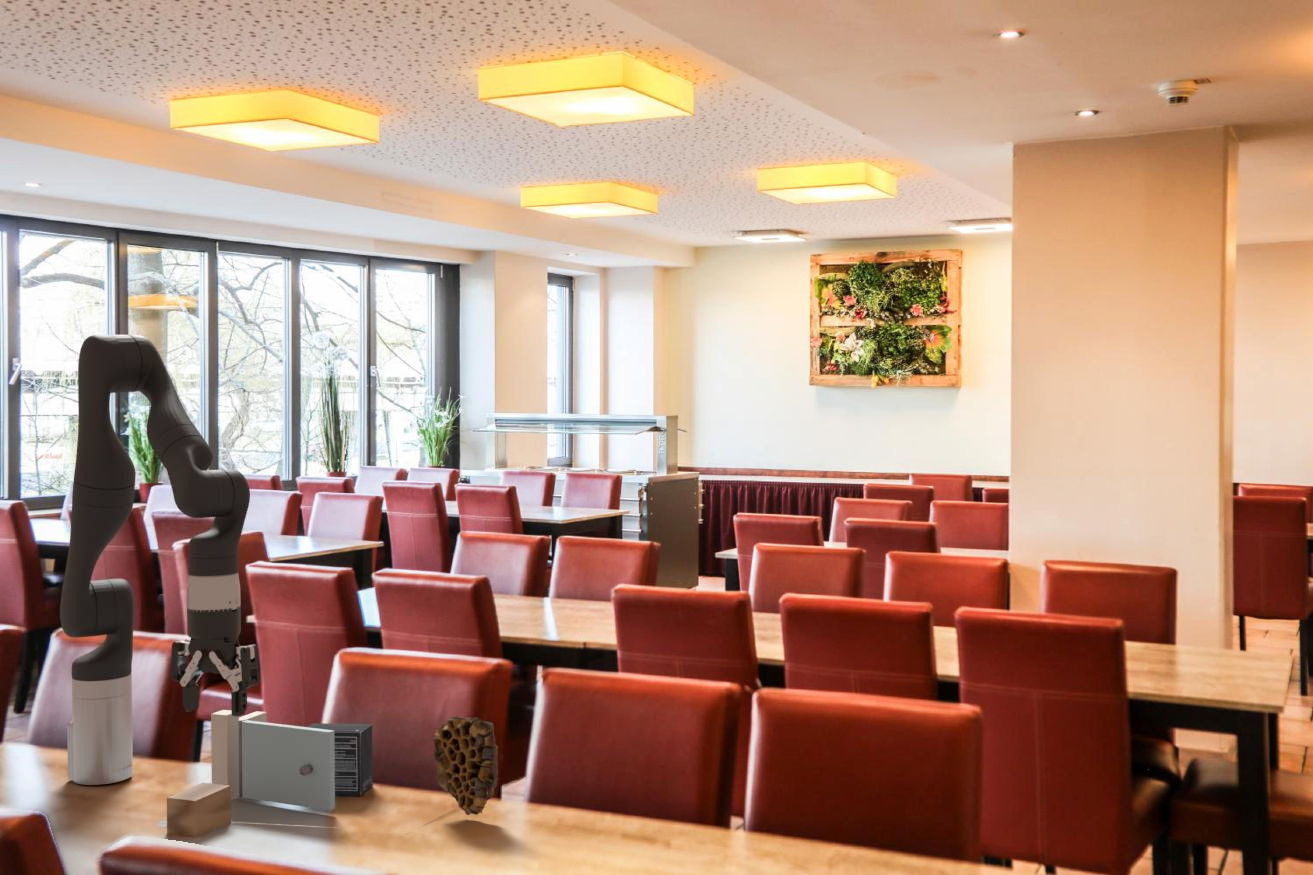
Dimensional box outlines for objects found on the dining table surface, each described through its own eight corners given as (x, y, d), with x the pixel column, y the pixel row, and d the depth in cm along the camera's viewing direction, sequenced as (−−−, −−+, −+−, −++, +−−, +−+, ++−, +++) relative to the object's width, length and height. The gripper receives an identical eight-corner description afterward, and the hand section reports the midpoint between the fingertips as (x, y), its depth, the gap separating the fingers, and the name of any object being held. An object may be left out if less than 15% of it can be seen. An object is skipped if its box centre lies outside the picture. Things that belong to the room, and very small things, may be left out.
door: (324, 812, 193) (323, 734, 193) (231, 799, 200) (230, 723, 200) (335, 808, 195) (334, 730, 195) (242, 794, 202) (242, 719, 202)
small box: (374, 785, 211) (374, 722, 211) (361, 797, 204) (361, 732, 204) (313, 783, 212) (312, 721, 212) (298, 795, 205) (297, 730, 205)
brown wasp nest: (425, 815, 195) (425, 718, 194) (437, 807, 199) (437, 712, 198) (495, 821, 192) (494, 722, 191) (505, 813, 196) (505, 716, 195)
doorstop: (167, 838, 185) (166, 797, 185) (203, 821, 192) (202, 782, 192) (195, 842, 183) (195, 800, 183) (230, 825, 191) (230, 785, 191)
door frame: (114, 845, 182) (113, 747, 181) (254, 782, 213) (253, 698, 212) (131, 847, 181) (130, 749, 181) (269, 783, 212) (269, 700, 211)
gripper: (157, 605, 188) (158, 714, 188) (236, 610, 183) (237, 722, 183) (192, 598, 195) (193, 703, 195) (269, 602, 190) (270, 711, 190)
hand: (215, 712), depth 189 cm, fingers open, 8 cm apart
